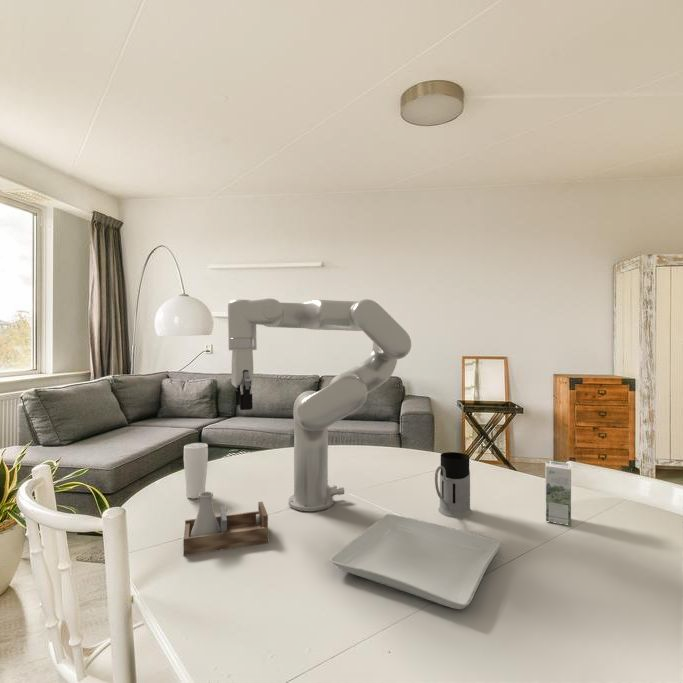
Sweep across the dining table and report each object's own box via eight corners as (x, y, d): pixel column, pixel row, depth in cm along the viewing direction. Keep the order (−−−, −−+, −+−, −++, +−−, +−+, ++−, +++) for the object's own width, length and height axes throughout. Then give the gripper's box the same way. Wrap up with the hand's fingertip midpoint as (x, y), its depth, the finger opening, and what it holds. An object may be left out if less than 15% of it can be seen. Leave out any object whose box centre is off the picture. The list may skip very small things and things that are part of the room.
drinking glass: (178, 498, 123) (178, 447, 123) (194, 491, 130) (194, 441, 130) (197, 501, 121) (197, 449, 121) (212, 493, 127) (212, 443, 127)
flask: (226, 531, 100) (226, 488, 100) (215, 545, 92) (216, 500, 92) (195, 530, 100) (196, 487, 100) (183, 544, 93) (183, 499, 93)
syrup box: (569, 518, 109) (569, 462, 110) (571, 527, 104) (571, 468, 104) (545, 514, 112) (545, 459, 112) (545, 523, 107) (545, 465, 107)
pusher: (224, 525, 102) (224, 506, 102) (226, 541, 94) (226, 520, 94) (220, 526, 102) (220, 506, 102) (222, 542, 94) (222, 520, 94)
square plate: (467, 628, 68) (467, 603, 68) (326, 577, 82) (326, 557, 82) (503, 556, 91) (503, 537, 91) (387, 526, 105) (387, 511, 105)
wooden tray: (262, 524, 106) (262, 500, 106) (268, 543, 96) (268, 516, 96) (185, 534, 100) (185, 509, 100) (183, 555, 90) (183, 527, 90)
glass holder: (477, 511, 114) (477, 455, 114) (451, 527, 104) (451, 466, 104) (448, 502, 120) (448, 449, 120) (421, 517, 110) (420, 459, 110)
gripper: (225, 345, 123) (226, 403, 123) (232, 345, 107) (233, 412, 107) (251, 344, 126) (252, 402, 126) (261, 344, 110) (263, 410, 110)
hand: (243, 407), depth 117 cm, fingers open, 9 cm apart
